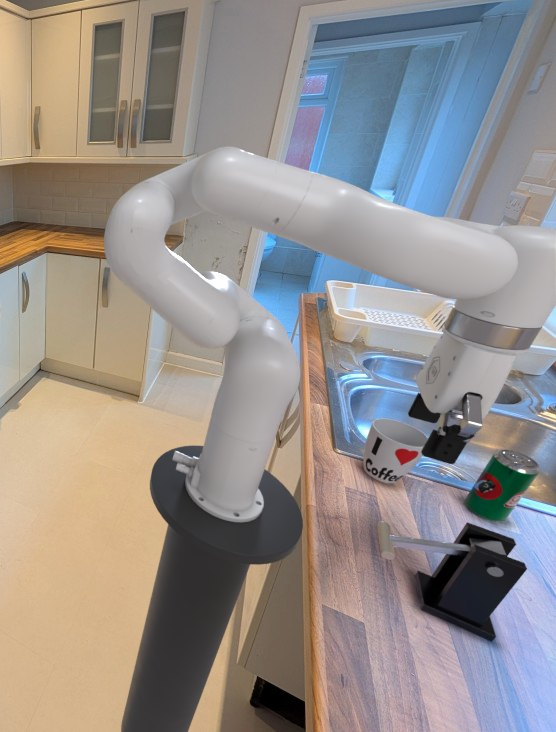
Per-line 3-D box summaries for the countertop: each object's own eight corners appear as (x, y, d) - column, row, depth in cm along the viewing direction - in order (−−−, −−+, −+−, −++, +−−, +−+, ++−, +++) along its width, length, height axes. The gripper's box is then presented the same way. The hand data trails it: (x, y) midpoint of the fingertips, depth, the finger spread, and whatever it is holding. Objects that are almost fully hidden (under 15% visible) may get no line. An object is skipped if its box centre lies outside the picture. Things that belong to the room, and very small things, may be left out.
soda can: (502, 528, 70) (540, 474, 65) (460, 508, 74) (493, 455, 69) (507, 513, 73) (544, 460, 68) (466, 494, 77) (499, 443, 72)
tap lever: (382, 561, 59) (379, 547, 59) (379, 531, 64) (375, 517, 63) (513, 582, 52) (511, 566, 51) (499, 546, 56) (496, 531, 56)
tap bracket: (420, 609, 59) (462, 547, 53) (414, 575, 63) (452, 514, 58) (492, 642, 55) (545, 578, 50) (480, 603, 60) (527, 541, 54)
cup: (349, 471, 82) (367, 430, 78) (359, 452, 87) (377, 412, 83) (403, 497, 76) (427, 454, 72) (411, 474, 81) (433, 433, 77)
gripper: (432, 299, 61) (385, 398, 68) (466, 349, 47) (404, 464, 55) (506, 312, 57) (448, 414, 64) (566, 368, 44) (485, 490, 51)
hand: (428, 437), depth 59 cm, fingers open, 9 cm apart
